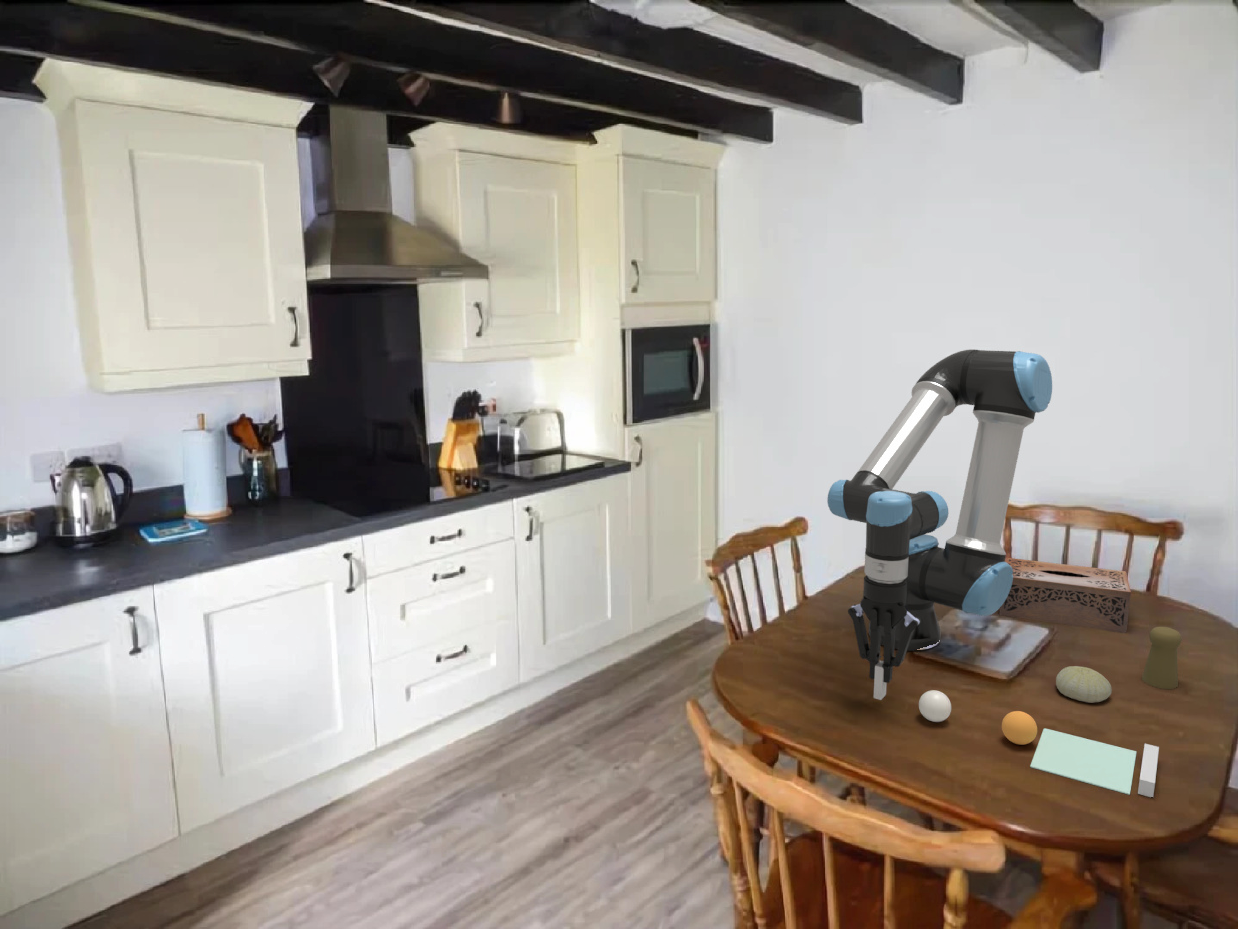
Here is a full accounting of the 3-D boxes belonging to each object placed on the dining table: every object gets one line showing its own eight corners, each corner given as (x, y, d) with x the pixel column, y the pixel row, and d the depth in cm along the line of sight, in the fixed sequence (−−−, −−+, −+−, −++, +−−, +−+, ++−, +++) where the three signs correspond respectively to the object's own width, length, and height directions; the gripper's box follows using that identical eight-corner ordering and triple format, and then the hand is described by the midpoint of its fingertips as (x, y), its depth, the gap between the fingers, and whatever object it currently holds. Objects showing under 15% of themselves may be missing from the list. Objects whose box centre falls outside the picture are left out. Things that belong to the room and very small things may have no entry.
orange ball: (997, 745, 144) (1000, 715, 142) (1004, 730, 148) (1006, 702, 147) (1032, 754, 141) (1035, 724, 139) (1038, 739, 145) (1041, 710, 144)
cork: (1178, 692, 160) (1185, 638, 158) (1141, 684, 163) (1147, 631, 161) (1177, 679, 165) (1184, 626, 163) (1141, 672, 168) (1148, 620, 166)
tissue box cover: (999, 616, 198) (1002, 576, 196) (1002, 595, 210) (1005, 557, 208) (1126, 634, 186) (1131, 592, 184) (1121, 611, 199) (1126, 571, 197)
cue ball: (914, 722, 151) (915, 694, 150) (922, 709, 156) (924, 682, 155) (946, 731, 148) (947, 702, 147) (953, 717, 153) (955, 689, 152)
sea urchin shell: (1095, 703, 153) (1069, 662, 157) (1064, 717, 159) (1040, 678, 163) (1126, 691, 157) (1100, 651, 161) (1095, 705, 163) (1070, 667, 167)
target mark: (1030, 767, 137) (1030, 766, 137) (1043, 729, 148) (1044, 728, 148) (1129, 795, 129) (1129, 793, 129) (1136, 752, 140) (1136, 751, 140)
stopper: (1137, 793, 129) (1139, 779, 129) (1143, 757, 139) (1144, 743, 139) (1153, 798, 128) (1154, 783, 128) (1157, 760, 138) (1159, 747, 137)
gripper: (843, 576, 153) (838, 695, 158) (916, 590, 145) (909, 714, 151) (857, 564, 159) (852, 679, 164) (928, 577, 151) (921, 696, 157)
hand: (879, 696), depth 157 cm, fingers closed
